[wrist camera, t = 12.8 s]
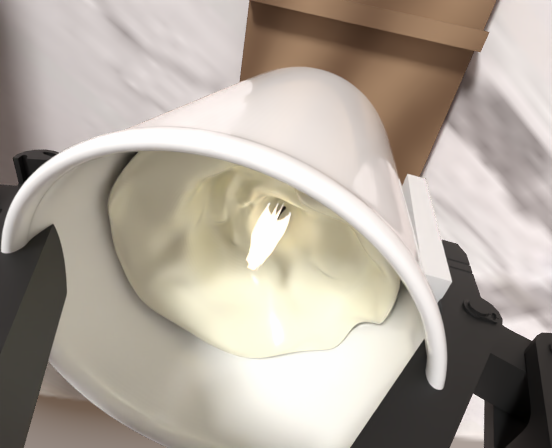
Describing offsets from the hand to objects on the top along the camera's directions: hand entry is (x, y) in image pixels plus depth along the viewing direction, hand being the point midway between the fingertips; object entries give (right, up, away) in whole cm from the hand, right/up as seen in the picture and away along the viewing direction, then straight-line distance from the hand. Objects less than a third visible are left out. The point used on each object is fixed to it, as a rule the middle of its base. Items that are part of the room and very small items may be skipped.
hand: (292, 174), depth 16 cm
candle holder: (0, +1, +2) cm, 2 cm away
